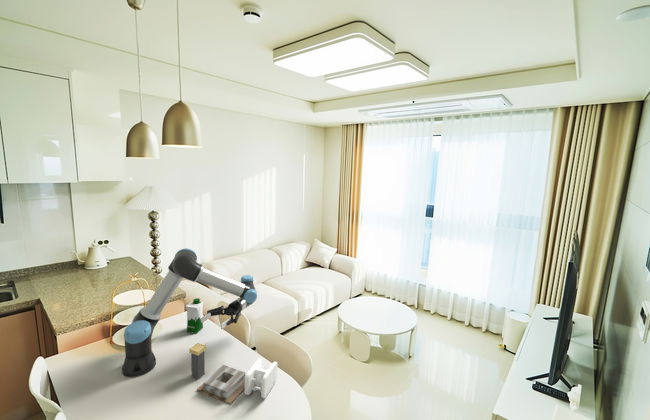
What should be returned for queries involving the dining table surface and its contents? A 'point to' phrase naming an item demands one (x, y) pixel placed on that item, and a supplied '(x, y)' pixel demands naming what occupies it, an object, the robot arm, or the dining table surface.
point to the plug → (197, 360)
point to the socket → (224, 384)
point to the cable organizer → (260, 378)
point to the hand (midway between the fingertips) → (211, 323)
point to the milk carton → (194, 316)
